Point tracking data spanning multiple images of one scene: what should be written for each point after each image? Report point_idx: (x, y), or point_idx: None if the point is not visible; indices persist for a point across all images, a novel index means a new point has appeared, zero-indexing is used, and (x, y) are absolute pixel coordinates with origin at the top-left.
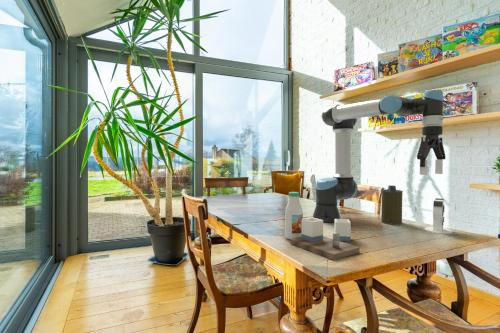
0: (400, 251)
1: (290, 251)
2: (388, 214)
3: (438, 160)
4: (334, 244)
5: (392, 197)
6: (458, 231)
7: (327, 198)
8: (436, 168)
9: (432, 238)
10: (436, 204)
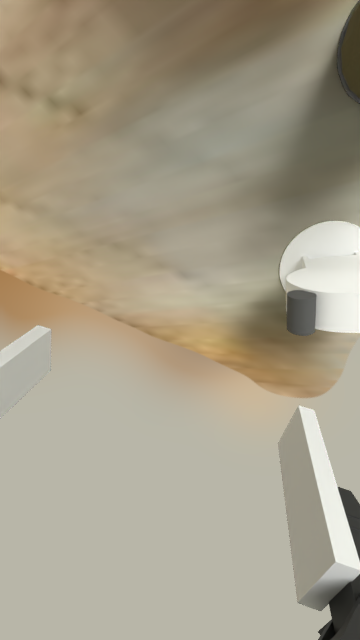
0: (7, 234)
1: None
2: (357, 23)
3: (311, 565)
4: None
5: None
6: None
7: None
8: (303, 453)
9: (191, 271)
10: (287, 306)
